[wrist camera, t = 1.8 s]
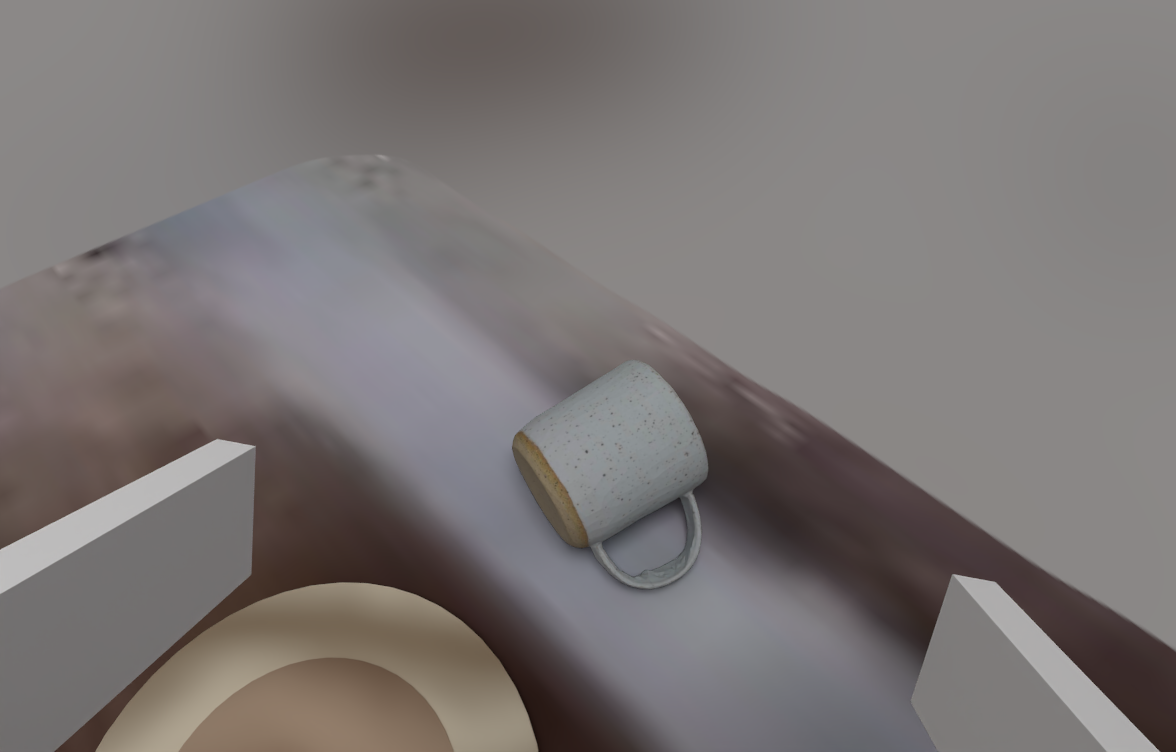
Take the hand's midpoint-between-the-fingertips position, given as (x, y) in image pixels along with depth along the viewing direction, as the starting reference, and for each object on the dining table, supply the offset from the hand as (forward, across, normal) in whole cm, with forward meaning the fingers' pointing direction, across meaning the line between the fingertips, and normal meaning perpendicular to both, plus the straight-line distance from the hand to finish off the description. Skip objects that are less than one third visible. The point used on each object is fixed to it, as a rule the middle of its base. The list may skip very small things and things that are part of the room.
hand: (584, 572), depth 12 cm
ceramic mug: (+24, +1, -9) cm, 25 cm away
